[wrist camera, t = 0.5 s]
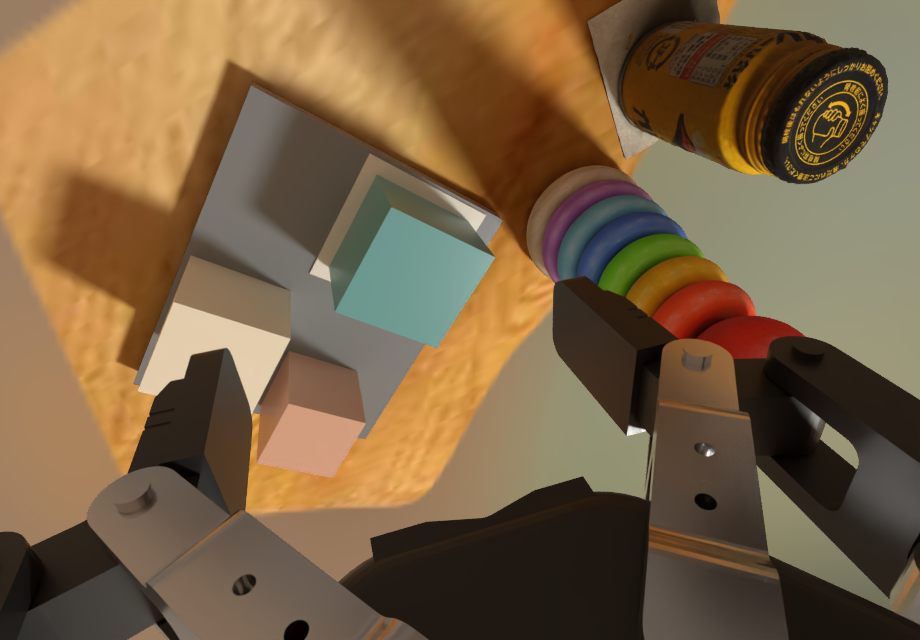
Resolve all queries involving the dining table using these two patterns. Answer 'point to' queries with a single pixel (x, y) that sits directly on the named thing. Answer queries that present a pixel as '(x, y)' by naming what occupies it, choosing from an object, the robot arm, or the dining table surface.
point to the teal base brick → (406, 264)
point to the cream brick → (222, 327)
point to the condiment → (736, 89)
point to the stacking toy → (642, 260)
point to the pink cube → (310, 416)
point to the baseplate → (308, 233)
